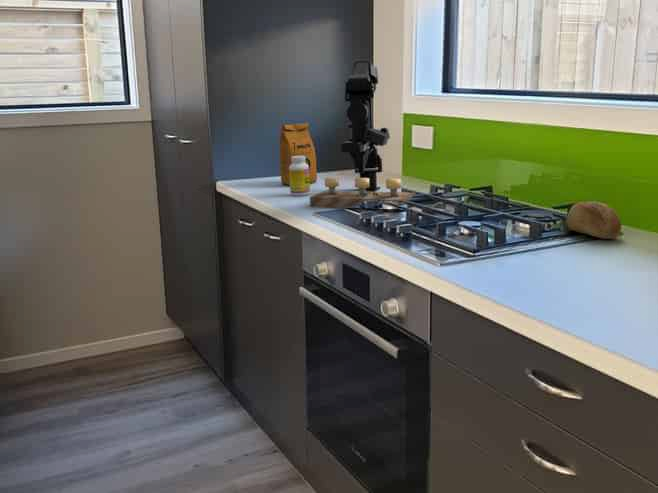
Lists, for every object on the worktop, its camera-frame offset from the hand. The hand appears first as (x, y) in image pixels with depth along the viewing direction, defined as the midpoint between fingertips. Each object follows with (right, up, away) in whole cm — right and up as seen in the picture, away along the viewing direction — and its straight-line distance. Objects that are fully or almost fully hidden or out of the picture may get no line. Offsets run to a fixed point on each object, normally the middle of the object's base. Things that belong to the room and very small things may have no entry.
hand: (361, 172), depth 209 cm
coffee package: (-21, +1, +45) cm, 50 cm away
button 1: (-9, -6, +6) cm, 12 cm away
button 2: (+9, -7, -2) cm, 12 cm away
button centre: (0, -7, +2) cm, 7 cm away
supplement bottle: (-20, -5, +24) cm, 31 cm away
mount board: (0, -9, +2) cm, 10 cm away
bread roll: (+52, -20, -45) cm, 72 cm away
